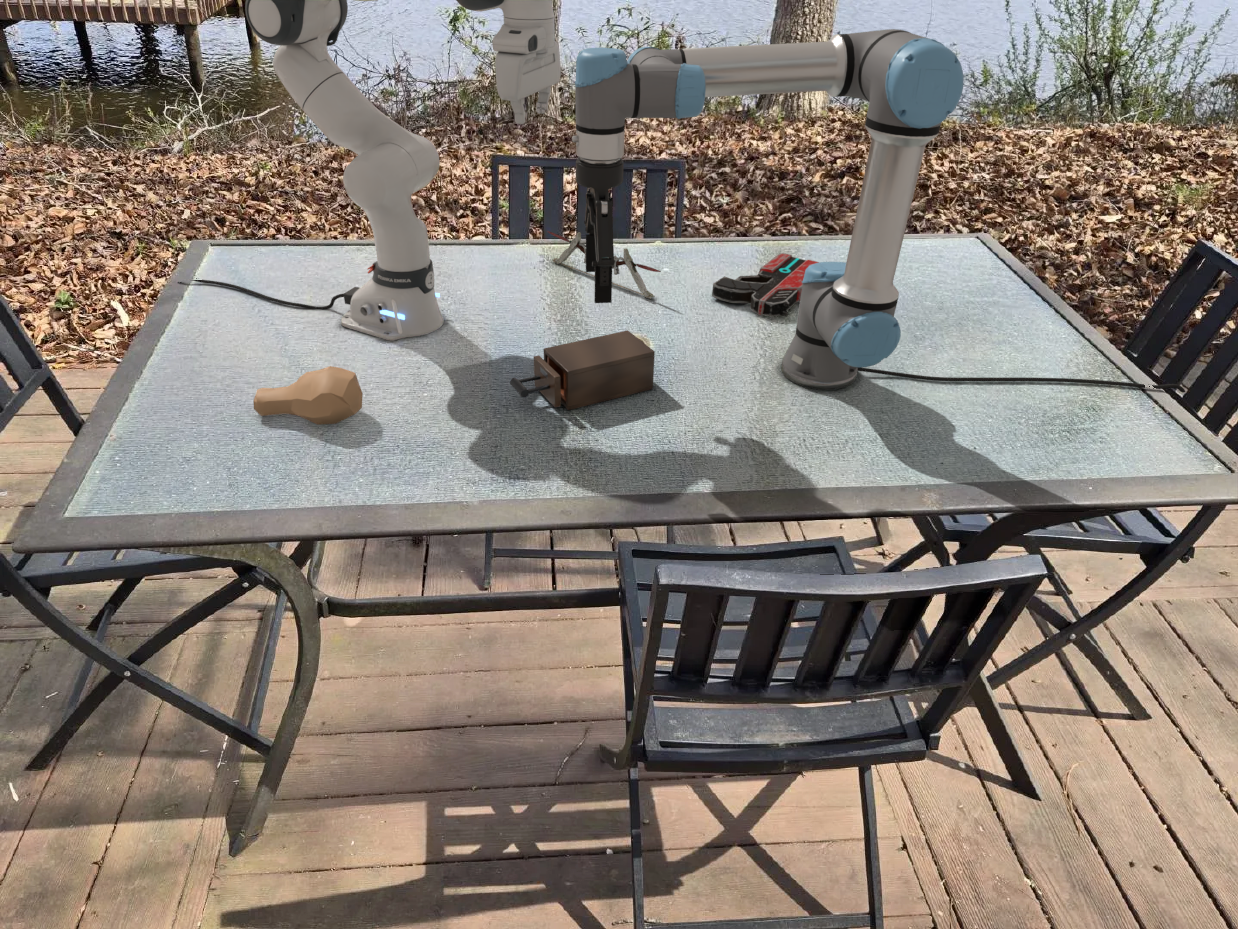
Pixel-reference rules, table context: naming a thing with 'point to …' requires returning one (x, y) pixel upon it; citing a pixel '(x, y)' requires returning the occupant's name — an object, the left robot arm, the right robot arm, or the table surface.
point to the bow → (626, 260)
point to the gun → (767, 286)
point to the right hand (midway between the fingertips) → (598, 286)
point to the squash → (314, 397)
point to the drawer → (544, 381)
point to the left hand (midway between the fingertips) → (531, 117)
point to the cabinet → (603, 368)
